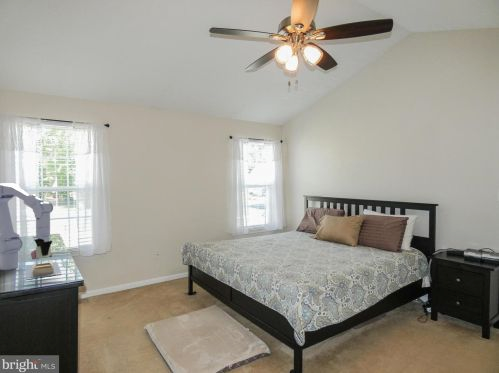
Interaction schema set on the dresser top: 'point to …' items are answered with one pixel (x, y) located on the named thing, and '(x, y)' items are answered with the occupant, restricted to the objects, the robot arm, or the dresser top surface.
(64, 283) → the dresser top surface
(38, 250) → the sage block
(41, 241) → the robot arm
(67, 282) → the dresser top surface
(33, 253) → the video game controller
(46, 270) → the blueprint board
